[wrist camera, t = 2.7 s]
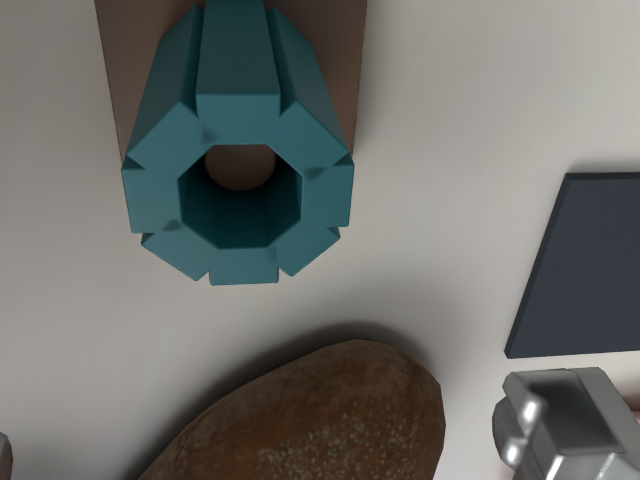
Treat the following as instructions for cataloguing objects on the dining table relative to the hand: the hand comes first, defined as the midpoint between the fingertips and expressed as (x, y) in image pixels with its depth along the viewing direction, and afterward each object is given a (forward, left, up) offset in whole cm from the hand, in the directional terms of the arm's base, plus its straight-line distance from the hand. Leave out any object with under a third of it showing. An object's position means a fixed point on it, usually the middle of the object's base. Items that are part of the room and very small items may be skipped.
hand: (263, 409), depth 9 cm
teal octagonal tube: (0, 0, -14) cm, 14 cm away
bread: (-2, -30, -16) cm, 34 cm away
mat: (+21, -11, -16) cm, 28 cm away
